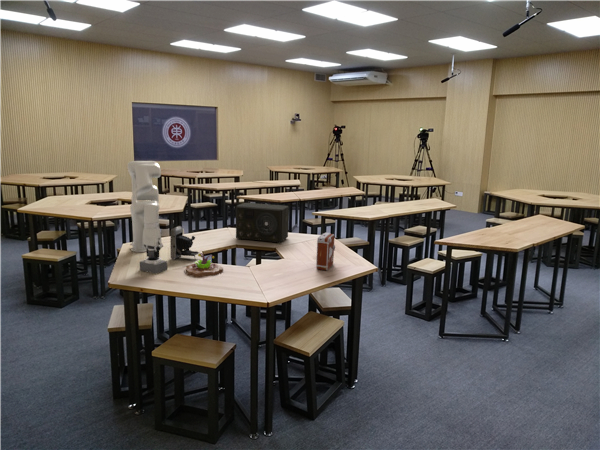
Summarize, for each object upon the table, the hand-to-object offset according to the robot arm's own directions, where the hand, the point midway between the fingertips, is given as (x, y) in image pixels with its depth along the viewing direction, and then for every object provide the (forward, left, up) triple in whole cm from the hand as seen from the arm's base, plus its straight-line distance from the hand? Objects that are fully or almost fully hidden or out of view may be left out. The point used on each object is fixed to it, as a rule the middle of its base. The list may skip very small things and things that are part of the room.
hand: (153, 256), depth 251 cm
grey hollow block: (0, 0, -8) cm, 8 cm away
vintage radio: (+13, +95, -8) cm, 96 cm away
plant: (+25, +13, -9) cm, 29 cm away
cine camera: (+81, +59, -8) cm, 101 cm away
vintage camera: (0, +27, -8) cm, 28 cm away
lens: (0, 0, -2) cm, 2 cm away
